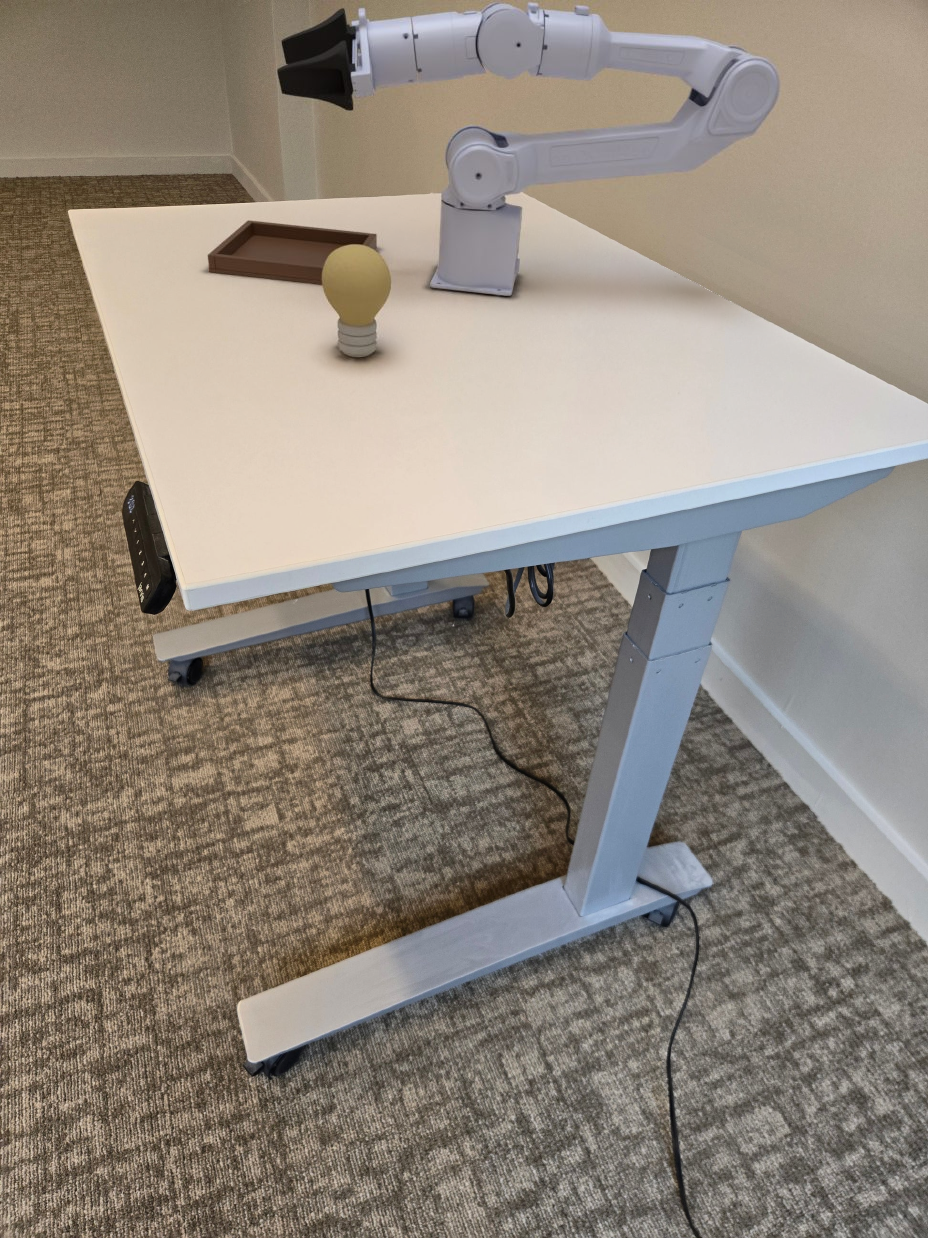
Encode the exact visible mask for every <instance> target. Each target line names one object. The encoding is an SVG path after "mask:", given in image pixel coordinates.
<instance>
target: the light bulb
mask: <svg viewBox="0 0 928 1238" xmlns="http://www.w3.org/2000/svg"><path fill="white" fill-rule="evenodd" d="M321 285H322V289H323V293H324V296H325V297H326V300H327V301H328V303H329V304H330V306H331V307H332V308H333V310H334V311H335V312H336V314H337V315H338V317H339V318H338V319H337V339H338V340H337V347H338V349H339V350H340V351H341V353H343V354H344V355H346V356H348V357H352V358H365V357H368V356H370V355H371V354H373V353H374V352H376V350H377V347H378V346H377V338H378V337H377V336H378V335H377V334H378V333H377V327H378V323H377V322H378V321H377V320H376V319H375V318H376V317H377V315H378V313H379V312H380V311H381V309H382V308H383V307H384V305H385V304H386V302H387V300H388V298H389V296H390V292H391V288H392V275H391V271H390V268H389V265H388V264H387V262H386V260H385V258H384V257H383V256H382V255H381V254H380V253H379V252H378V251H377V250H376V251H375V250H373V249H372V248H370V247H367V246H364V245H356V244H353V245H346V246H343V247H340V248H338V249H336V250H334V251H333V252H332V253H331V254H330V255H329V256H328V258H327V260H326V261H325V264H324V267H323V271H322V284H321Z"/></svg>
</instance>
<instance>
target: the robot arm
mask: <svg viewBox="0 0 928 1238" xmlns="http://www.w3.org/2000/svg"><path fill="white" fill-rule="evenodd" d="M539 7H540V6H539V3H537V2H527V5H526V11H523V10H522V9H521V8H518V7H515V6H514V5H511V4H508V3H501V2H500V1H495V2H492V3H490V4H488V5H486V6H485V7H484V8H483V9H482V10H481V11H477V10H466V11H464V12H462V13H459V12H457V11H447V12H446V11H445V12H439V13H430V14H421V15H413V16H406V17H398V18H390V19H382V20H373V21H370V19H369V18H367V12H366V8H365V7H362V8H358V10H357V12H358V13H357V14H358V15H357V16H358V20H352V21H351V25H350V24H349V23H348V21H347V15H346V14H347V13H346V10H345V8H344V7H342V8H339V9H338V10H336V11H335V12H334V13H333V14H332V15H331V16H330V17H327V19H325V20H324V21H322V22H319V23H318V24H316V25H315V26H312V27H310V28H307V29H305V30H302V31H299V32H297V33H294V34H291V35H289V36H287V37H285V38H283V39H281V47H282V52H283V55H284V56H283V57H284V61H285V65H283V66H281V67H278V68H277V70H276V73H277V78H278V82H279V86H280V91H281V94H282V95H287V96H291V97H299V98H307V99H313V100H318V101H323V102H326V103H329V104H333V105H334V106H337V107H340V108H341V109H343V110H345V111H348V112H349V111H354V99H357V98H366V97H373V96H375V93H374V92H376V91H377V89H384V88H391V87H392V88H393V87H401V86H408V85H410V86H411V85H417V84H426V83H433V82H442V81H451V80H460V79H462V78H464V77H468V76H475V75H477V76H478V75H484V74H486V73H487V71H489V72H490V73H492V74H493V75H495V76H498V77H503V78H505V79H506V80H509V81H510V80H513V79H516V78H518V77H520V76H521V75H523V73H525V72H526V71H527V72H528V74H529V76H531V77H540V78H551V79H564V80H574V81H585V82H590V81H592V80H593V79H594V78H595V77H596V76H597V75H598V74H599V73H600V72H602V71H603V70H605V69H614V70H621V71H629V72H637V73H644V74H650V75H651V74H652V75H658V76H659V75H660V76H666V77H674V78H678V79H680V80H681V81H682V82H683V83H684V84H686V85H687V86H689V87H690V91H689V92H688V95H687V98H686V100H685V101H684V103H683V104H682V106H681V107H680V108H679V109H678V111H677V112H676V114H675V115H674V116H673V118H672V119H671V120H670V121H666V122H665V121H663V122H653V123H644V124H643V123H642V124H632V125H631V124H630V125H621V126H620V125H619V126H610V127H597V128H587V129H577V130H575V129H574V130H566V131H555V132H553V131H552V132H545V133H532V134H528V133H520V132H512V131H502V132H498V131H492V130H489V129H488V128H485V127H484V126H481V125H477V124H476V125H475V124H473V125H466V126H463V127H461V128H459V129H458V130H457V131H455V132H454V133H453V135H452V136H451V137H450V138H449V141H448V142H447V145H446V148H445V154H444V156H445V158H444V159H445V165H446V168H447V171H448V182H449V184H448V186H447V187H446V189H444V190H443V191H442V192H441V197H440V198H441V199H440V219H439V238H438V239H439V241H438V260H437V261H438V263H437V264H438V266H437V268H436V270H435V272H434V274H433V276H432V278H431V281H430V283H429V286H430V288H433V289H442V290H451V291H459V292H460V291H461V292H469V293H478V294H487V295H495V296H504V297H505V296H507V297H510V296H512V294H513V291H514V286H515V283H516V278H517V276H518V275H519V271H520V262H521V259H520V258H519V249H520V240H521V230H522V220H523V207H522V206H520V205H516V204H515V205H514V204H511V203H507V202H506V199H507V198H506V196H509V195H518V194H520V193H522V192H524V191H526V190H527V189H530V188H531V187H532V186H540V185H541V186H542V185H551V184H561V183H562V184H564V183H573V182H584V181H594V180H595V181H596V180H606V179H619V178H626V177H629V178H630V177H639V176H651V175H659V174H661V175H663V174H671V173H672V174H673V173H682V172H683V173H684V172H690V171H693V170H696V169H698V168H699V167H701V166H702V165H704V164H705V163H707V162H708V161H710V160H711V159H712V158H715V156H717V155H719V154H720V153H721V152H723V151H725V150H726V149H727V148H729V147H730V146H731V145H733V144H734V143H736V142H738V141H740V140H743V139H745V138H749V137H751V136H753V135H755V133H756V132H757V131H758V129H759V128H760V127H761V126H762V124H763V123H764V122H765V120H766V119H767V117H769V115H770V114H771V112H772V110H773V109H774V107H775V105H776V104H777V101H778V98H779V95H780V88H781V80H780V79H781V78H780V75H779V72H778V70H777V68H776V66H775V64H773V63H772V62H771V61H770V60H769V59H767V58H765V57H762V56H759V55H758V56H756V55H754V54H751V53H748V51H746V50H745V49H743V48H742V47H740V46H738V45H732V44H729V45H725V44H723V43H721V42H718V41H714V40H711V39H708V38H703V37H700V36H697V35H686V34H685V35H683V34H682V35H681V34H663V33H645V32H630V31H629V32H628V31H626V32H625V31H610V30H609V29H608V27H607V26H606V24H605V22H604V20H603V18H602V16H600V14H597V13H590V10H591V9H590V7H588V6H587V5H579V4H576V5H575V6H574V8H573V10H574V11H566V10H556V9H555V10H553V9H545V8H544V9H543V8H539ZM486 70H487V71H486ZM353 97H354V99H353Z"/></svg>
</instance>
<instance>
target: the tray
mask: <svg viewBox="0 0 928 1238" xmlns="http://www.w3.org/2000/svg"><path fill="white" fill-rule="evenodd" d="M377 236H378V235H377V233H370V232H362V231H353V230H352V231H351V230H342V229H335V228H324V227H314V226H305V225H297V224H288V223H287V224H286V223H277V222H269V221H259V220H247V221H246V222H244V223H243V224H242V225H241V226H240V227H238V228H237V229H236V230H235V231H234V232H233V233H232V234H229V236H228V237H227V238H226V239H224V240H223V241H222V242H221V243H219V245H218V246H216V247H215V248H214V249H213V250H212V251H210V252H209V253H208V254H207V262H208V272H209V273H216V274H225V275H234V276H243V277H253V278H261V279H271V280H280V281H287V282H288V281H289V282H298V283H306V284H315V285H322V271H323V267H324V264H325V261H326V260H327V258H328V256H329V255H330V254H331V253H332V252H333V251H334V250H336V249H338V248H340V247H343V246H346V245H353V244H356V245H364V246H367V247H370V248H372V249H373V250H375V251H376V252H377V249H378V246H377V245H378V244H377V243H378V241H377V240H378V239H377V238H378V237H377Z"/></svg>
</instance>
